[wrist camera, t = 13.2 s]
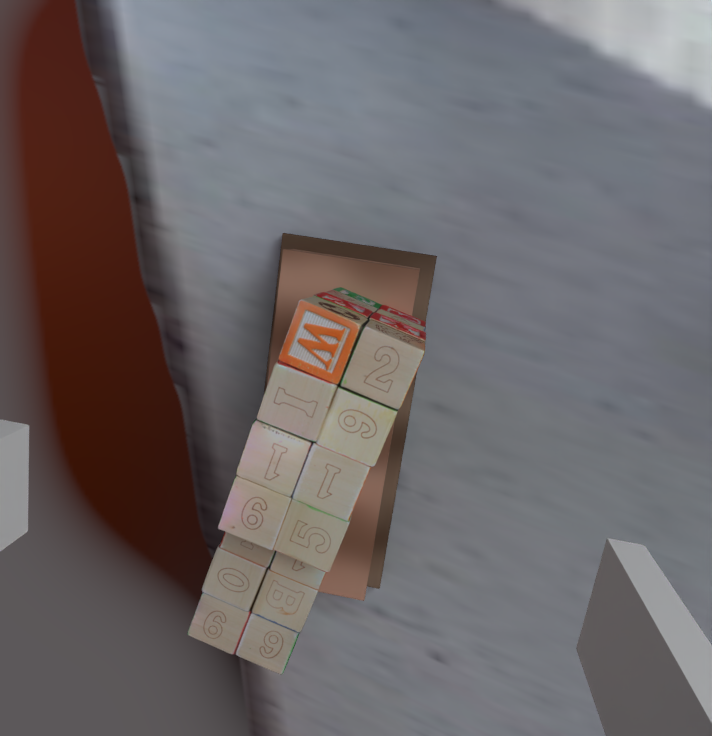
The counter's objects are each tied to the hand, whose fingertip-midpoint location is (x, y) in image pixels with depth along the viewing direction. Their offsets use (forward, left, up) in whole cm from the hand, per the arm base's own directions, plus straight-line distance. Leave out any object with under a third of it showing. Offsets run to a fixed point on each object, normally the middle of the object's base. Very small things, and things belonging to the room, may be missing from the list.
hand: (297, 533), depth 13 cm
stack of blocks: (+8, -3, -27) cm, 28 cm away
